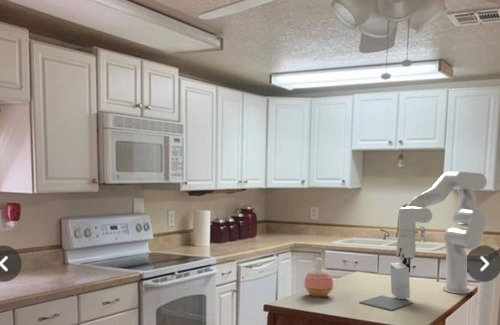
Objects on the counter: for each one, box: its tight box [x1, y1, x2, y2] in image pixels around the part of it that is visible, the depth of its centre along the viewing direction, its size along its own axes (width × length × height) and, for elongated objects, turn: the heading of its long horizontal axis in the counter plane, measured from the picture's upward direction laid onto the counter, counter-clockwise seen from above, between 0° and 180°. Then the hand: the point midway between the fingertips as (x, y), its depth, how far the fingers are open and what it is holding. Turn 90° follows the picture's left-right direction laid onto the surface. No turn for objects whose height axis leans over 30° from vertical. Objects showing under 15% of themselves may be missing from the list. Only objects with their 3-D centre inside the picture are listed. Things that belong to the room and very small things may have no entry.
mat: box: [359, 295, 414, 312], centre depth 210 cm, size 18×16×1 cm
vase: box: [303, 257, 334, 298], centre depth 222 cm, size 14×14×18 cm
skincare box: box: [390, 261, 411, 300], centre depth 218 cm, size 8×6×15 cm
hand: (406, 272), depth 222 cm, fingers closed
